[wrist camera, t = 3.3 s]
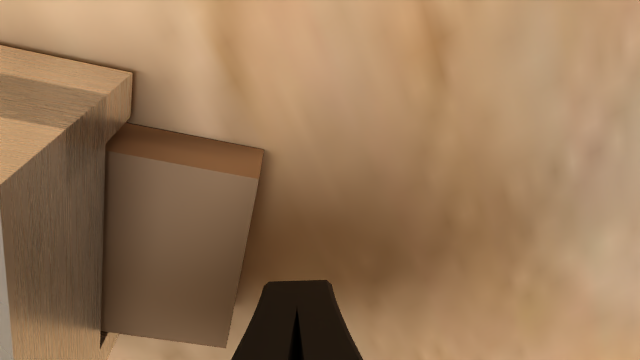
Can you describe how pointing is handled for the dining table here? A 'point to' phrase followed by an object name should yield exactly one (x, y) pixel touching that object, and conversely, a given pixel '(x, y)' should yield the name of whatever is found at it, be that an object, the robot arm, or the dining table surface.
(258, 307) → the robot arm
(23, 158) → the keeper
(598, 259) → the dining table surface
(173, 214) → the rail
